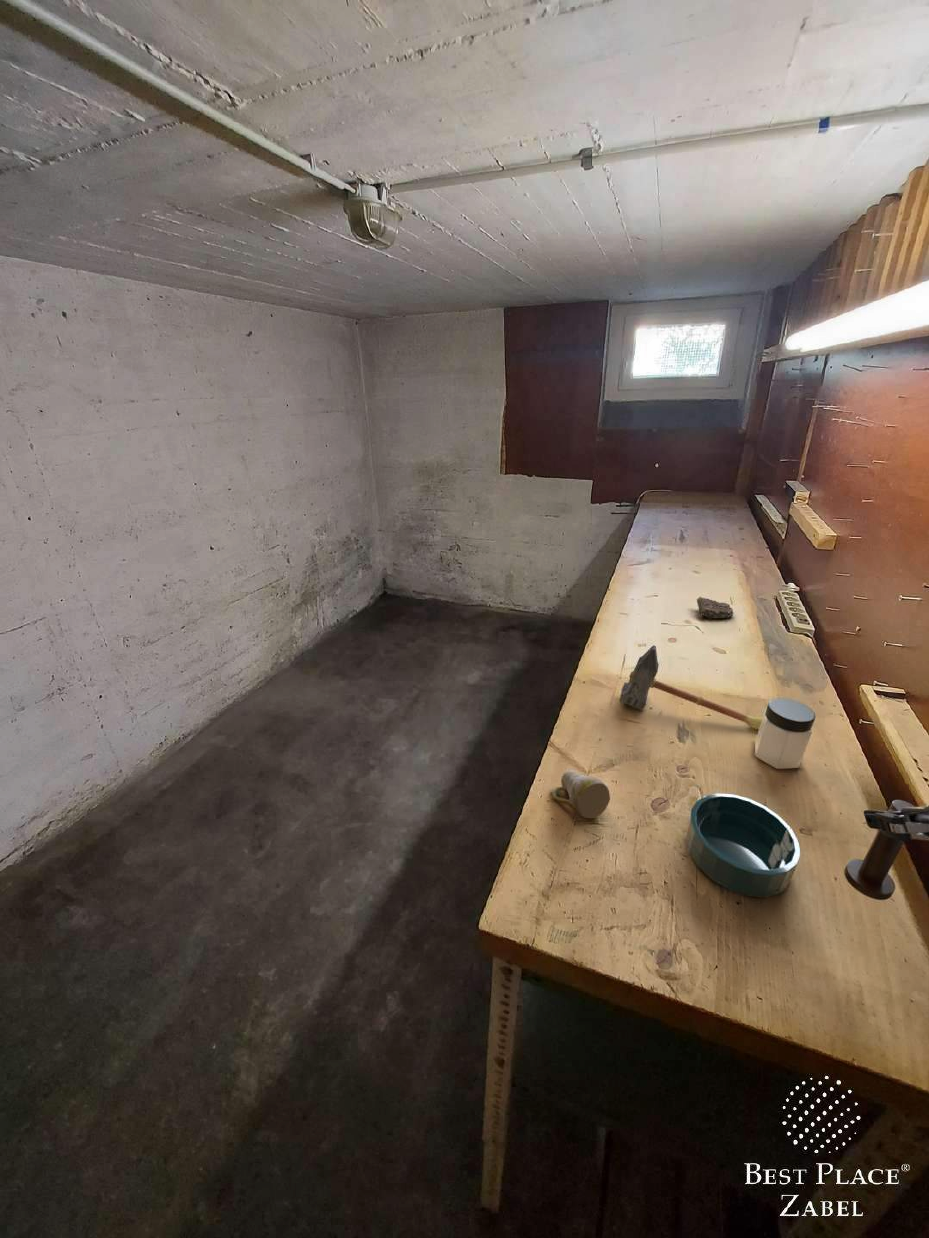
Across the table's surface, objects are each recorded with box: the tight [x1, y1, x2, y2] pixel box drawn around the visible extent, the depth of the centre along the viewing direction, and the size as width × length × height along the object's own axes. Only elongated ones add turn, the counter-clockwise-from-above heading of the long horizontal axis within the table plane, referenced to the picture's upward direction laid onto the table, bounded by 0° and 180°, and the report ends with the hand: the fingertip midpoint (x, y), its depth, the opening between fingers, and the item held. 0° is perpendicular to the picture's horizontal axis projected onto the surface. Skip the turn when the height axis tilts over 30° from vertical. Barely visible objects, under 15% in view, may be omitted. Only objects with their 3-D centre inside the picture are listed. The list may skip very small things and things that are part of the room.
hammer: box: [619, 644, 763, 731], centre depth 112 cm, size 6×16×30 cm
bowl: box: [684, 792, 802, 898], centre depth 79 cm, size 16×16×6 cm
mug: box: [552, 769, 611, 819], centre depth 90 cm, size 8×10×10 cm
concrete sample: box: [696, 596, 734, 619], centre depth 161 cm, size 12×10×5 cm
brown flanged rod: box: [843, 799, 920, 901], centre depth 63 cm, size 5×5×14 cm
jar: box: [754, 697, 816, 770], centre depth 99 cm, size 9×8×12 cm
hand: (879, 817), depth 63 cm, fingers closed on brown flanged rod, 2 cm apart
